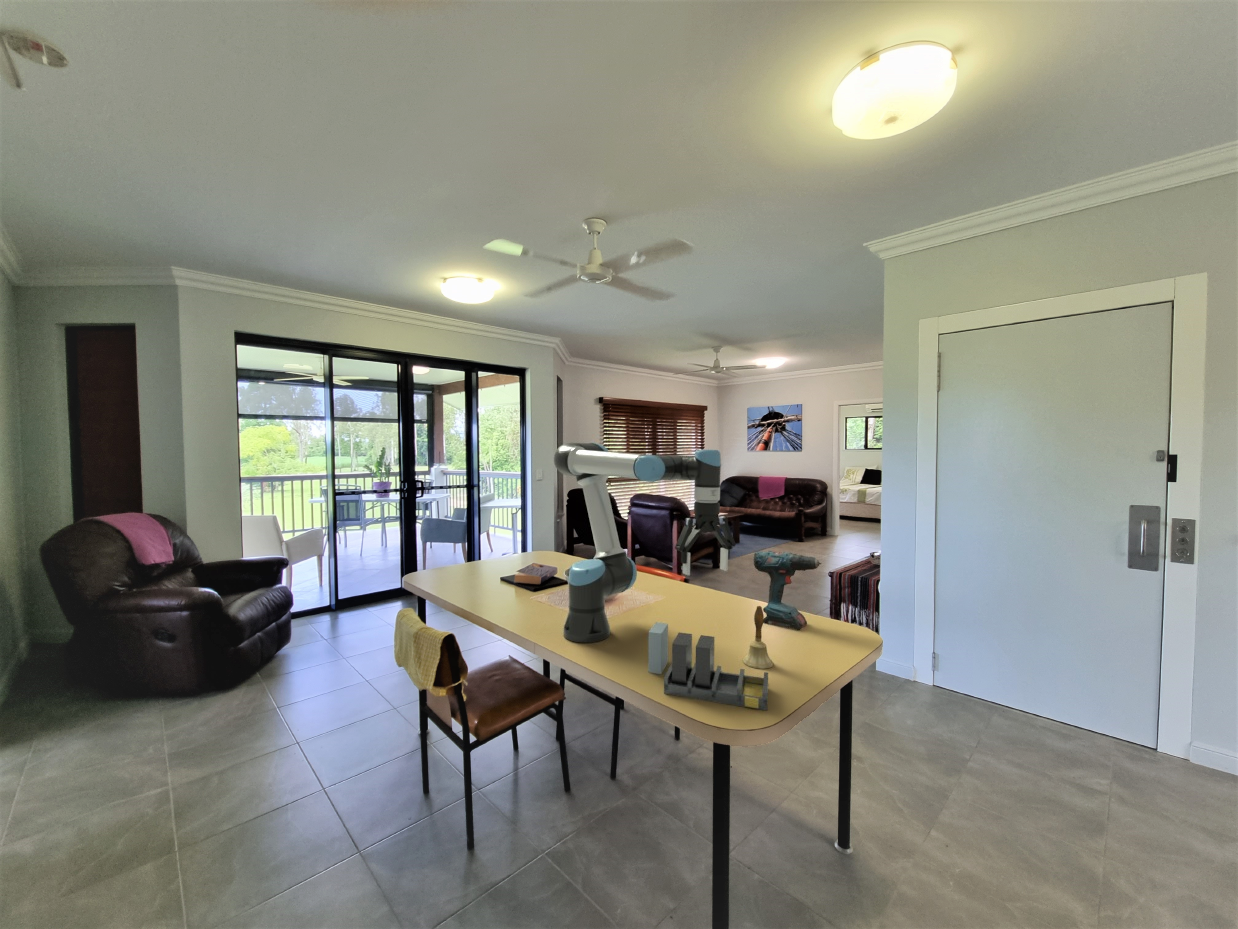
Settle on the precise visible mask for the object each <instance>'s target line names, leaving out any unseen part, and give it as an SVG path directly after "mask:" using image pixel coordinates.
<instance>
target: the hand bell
mask: <svg viewBox="0 0 1238 929" xmlns="http://www.w3.org/2000/svg"><path fill="white" fill-rule="evenodd" d="M753 615H754V618H753V620H754V621H753V622H754V626H755V636H754V640H753V641H751V642H750V643H749V649H748V653H747V654H746V656H744V657H743V659H742V663H743V664H744V665H746V666H748V667H750V668H754V669H758V670H760V669H762V670H763V669H764V670H765V669H770V668H772V667H773V666H774V662H773V660H772V659H771V658H770V656H769V652H768V648H767V647H768V646H767V644H766V643H765V642H764V641H762V629H763V626H764V625H763V624H764V623H763V621H764V618H765V616H764V611H763V607H762V605H761V606H760V605H757V606H756V609H755V612H754V614H753Z"/></svg>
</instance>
